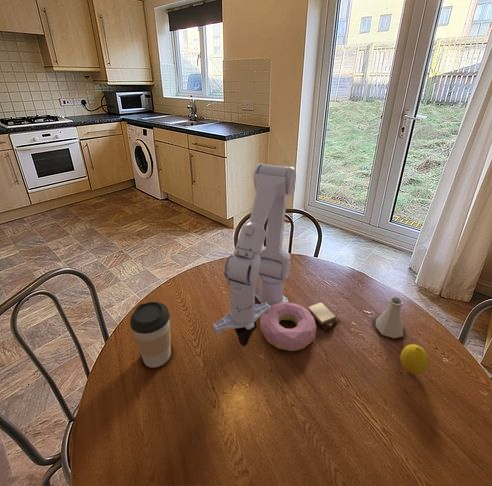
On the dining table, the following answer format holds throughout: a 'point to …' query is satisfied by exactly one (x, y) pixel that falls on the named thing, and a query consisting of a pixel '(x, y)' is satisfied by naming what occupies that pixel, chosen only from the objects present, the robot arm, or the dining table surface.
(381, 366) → the dining table surface
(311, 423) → the dining table surface
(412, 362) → the lemon
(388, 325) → the flask
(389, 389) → the dining table surface
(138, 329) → the coffee cup
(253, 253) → the robot arm
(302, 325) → the donut
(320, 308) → the letter pile
